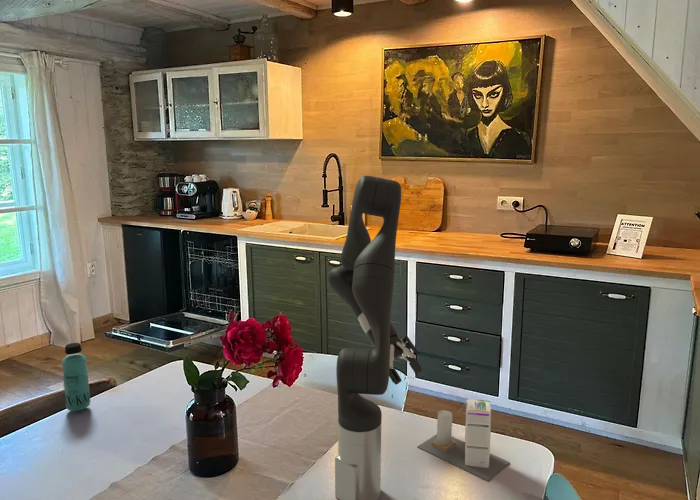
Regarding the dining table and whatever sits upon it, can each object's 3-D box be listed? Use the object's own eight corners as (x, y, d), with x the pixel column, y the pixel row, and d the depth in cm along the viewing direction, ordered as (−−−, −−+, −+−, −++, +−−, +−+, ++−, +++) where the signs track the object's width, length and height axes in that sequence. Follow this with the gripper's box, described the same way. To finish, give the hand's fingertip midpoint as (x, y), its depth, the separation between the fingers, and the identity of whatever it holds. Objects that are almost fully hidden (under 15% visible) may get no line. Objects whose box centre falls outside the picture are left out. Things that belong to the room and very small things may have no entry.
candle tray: (487, 481, 124) (489, 445, 122) (417, 447, 138) (418, 414, 136) (509, 463, 131) (511, 428, 129) (440, 432, 145) (441, 401, 143)
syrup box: (489, 468, 128) (492, 411, 125) (463, 465, 129) (466, 409, 127) (488, 455, 134) (491, 400, 131) (463, 452, 135) (466, 398, 132)
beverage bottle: (66, 407, 158) (59, 342, 154) (92, 403, 161) (85, 338, 157) (65, 418, 152) (58, 350, 148) (92, 413, 155) (85, 346, 151)
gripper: (366, 325, 141) (400, 380, 136) (401, 312, 151) (434, 363, 146) (351, 339, 146) (383, 393, 141) (386, 326, 156) (417, 376, 150)
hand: (409, 377), depth 143 cm, fingers open, 8 cm apart
